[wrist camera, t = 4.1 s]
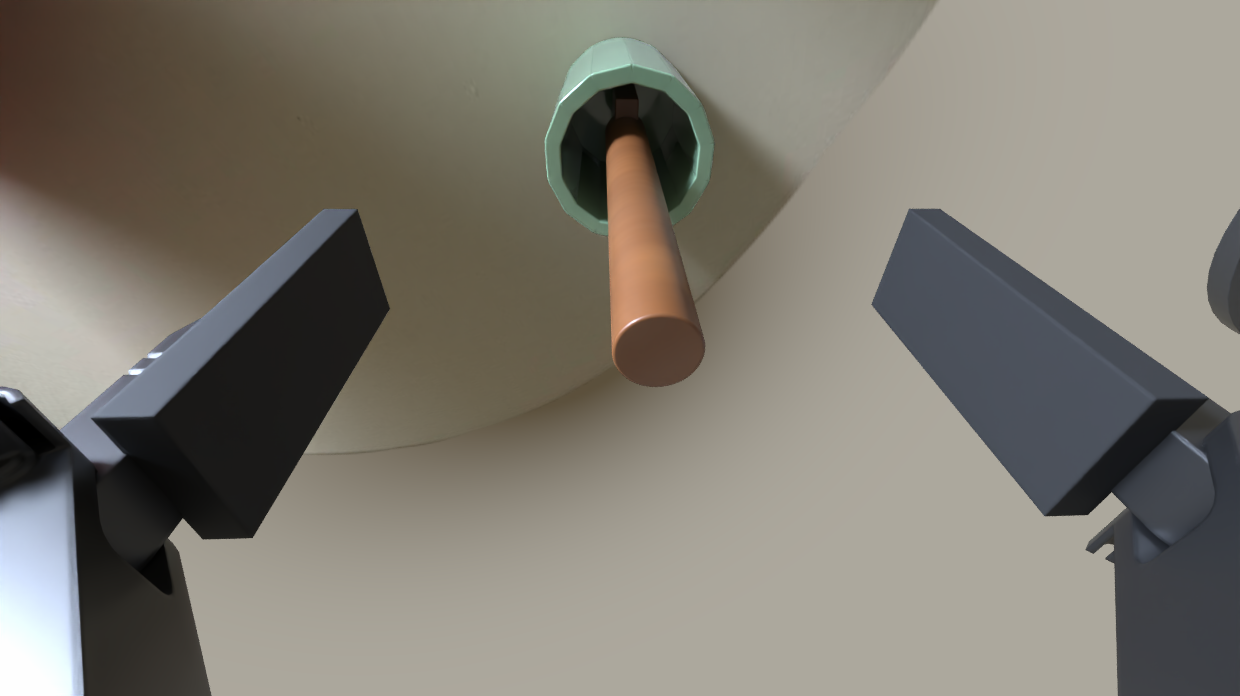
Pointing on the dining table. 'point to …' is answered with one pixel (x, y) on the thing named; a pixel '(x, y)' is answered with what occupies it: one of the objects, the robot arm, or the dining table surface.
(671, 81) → the crock
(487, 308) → the dining table surface
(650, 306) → the stick
